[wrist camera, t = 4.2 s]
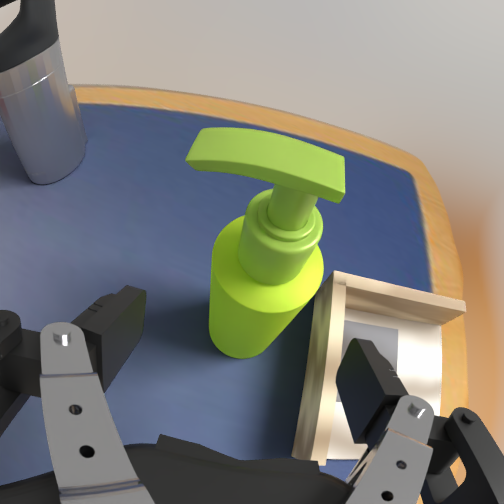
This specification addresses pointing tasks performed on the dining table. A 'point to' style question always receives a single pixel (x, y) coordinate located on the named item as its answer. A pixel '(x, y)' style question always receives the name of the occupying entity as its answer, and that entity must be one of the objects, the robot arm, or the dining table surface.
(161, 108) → the dining table surface
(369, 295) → the corner arena
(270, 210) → the soap dispenser
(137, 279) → the dining table surface
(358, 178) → the dining table surface
